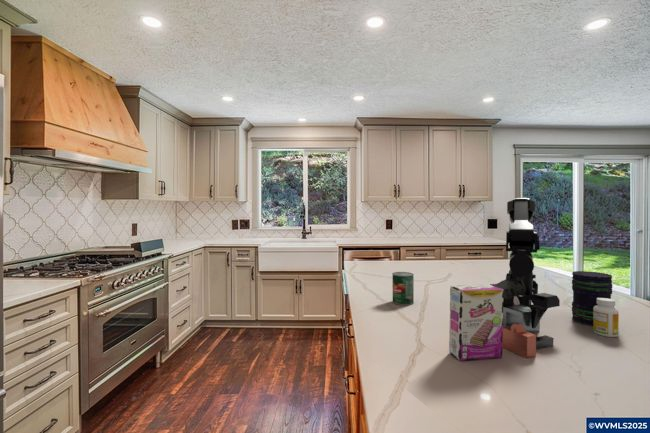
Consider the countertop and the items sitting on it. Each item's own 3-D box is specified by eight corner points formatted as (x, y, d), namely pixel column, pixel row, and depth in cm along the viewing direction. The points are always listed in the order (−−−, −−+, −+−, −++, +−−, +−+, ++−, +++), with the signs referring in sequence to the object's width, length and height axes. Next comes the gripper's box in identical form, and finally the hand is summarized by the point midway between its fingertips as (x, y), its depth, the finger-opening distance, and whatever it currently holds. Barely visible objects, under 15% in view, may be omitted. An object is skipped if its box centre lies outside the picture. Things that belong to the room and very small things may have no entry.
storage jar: (606, 319, 105) (606, 272, 105) (617, 329, 97) (618, 278, 96) (568, 315, 110) (568, 270, 110) (575, 324, 101) (576, 275, 101)
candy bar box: (460, 362, 75) (460, 290, 75) (448, 353, 80) (448, 285, 80) (504, 358, 77) (504, 288, 77) (490, 349, 82) (490, 283, 82)
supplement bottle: (612, 331, 94) (612, 297, 94) (622, 338, 89) (622, 302, 89) (589, 329, 96) (590, 296, 96) (598, 336, 91) (598, 300, 91)
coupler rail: (536, 339, 89) (536, 314, 88) (563, 349, 82) (563, 322, 82) (500, 347, 84) (500, 320, 84) (526, 358, 77) (526, 329, 77)
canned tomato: (416, 301, 127) (416, 273, 127) (409, 306, 120) (409, 276, 120) (396, 298, 131) (396, 271, 131) (389, 303, 124) (389, 274, 124)
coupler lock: (519, 323, 101) (519, 304, 101) (540, 330, 95) (540, 309, 95) (502, 326, 99) (502, 306, 99) (522, 334, 93) (522, 312, 93)
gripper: (474, 267, 102) (474, 317, 102) (532, 277, 85) (532, 338, 85) (500, 265, 107) (500, 314, 107) (561, 275, 89) (560, 333, 89)
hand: (520, 323), depth 97 cm, fingers open, 8 cm apart
